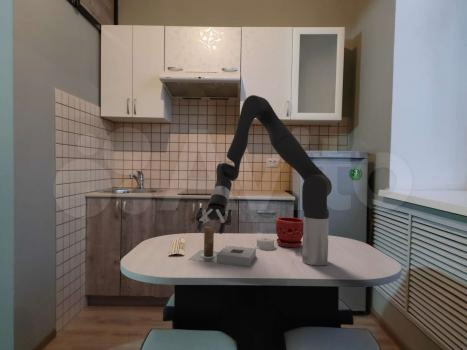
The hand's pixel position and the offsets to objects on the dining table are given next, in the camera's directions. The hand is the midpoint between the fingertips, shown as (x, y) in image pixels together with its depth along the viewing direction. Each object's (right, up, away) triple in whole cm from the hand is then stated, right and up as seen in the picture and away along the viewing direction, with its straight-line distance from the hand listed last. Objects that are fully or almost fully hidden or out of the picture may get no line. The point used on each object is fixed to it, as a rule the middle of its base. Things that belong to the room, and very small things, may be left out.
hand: (209, 231), depth 113 cm
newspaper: (-14, -10, +13) cm, 22 cm away
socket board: (+5, -10, -2) cm, 12 cm away
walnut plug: (0, -9, -1) cm, 9 cm away
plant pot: (+35, -10, +22) cm, 42 cm away
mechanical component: (+23, -11, +14) cm, 29 cm away
